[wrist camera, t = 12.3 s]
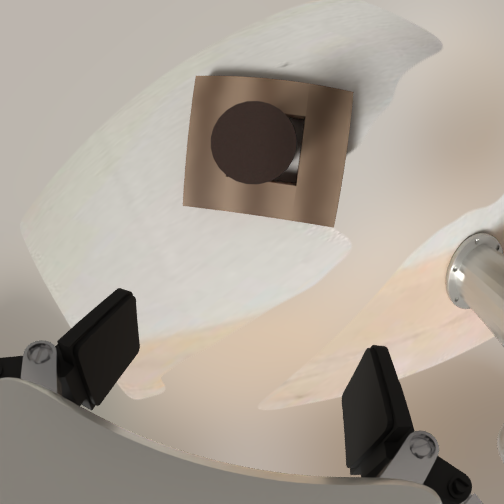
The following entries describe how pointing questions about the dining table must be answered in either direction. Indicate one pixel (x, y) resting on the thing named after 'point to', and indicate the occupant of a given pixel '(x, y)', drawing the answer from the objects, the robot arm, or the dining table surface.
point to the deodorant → (253, 142)
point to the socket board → (311, 154)
